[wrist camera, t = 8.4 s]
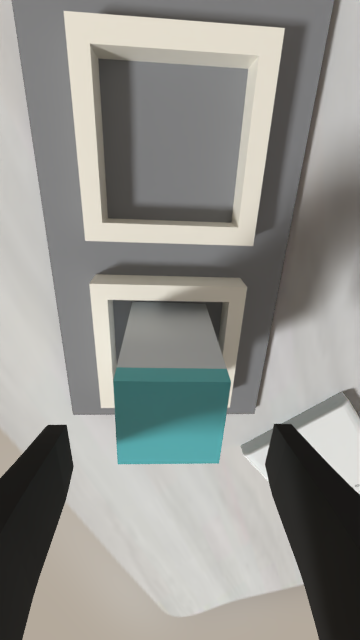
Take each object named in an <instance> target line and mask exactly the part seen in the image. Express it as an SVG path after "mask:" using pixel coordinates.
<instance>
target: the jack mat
mask: <svg viewBox="0 0 360 640" xmlns="http://www.w3.org/2000/svg"><path fill="white" fill-rule="evenodd" d="M333 4H334V0H12V6H13V12H14V19H15V26H16V33H17V39H18V46H19V53H20V60H21V66H22V73H23V80H24V87H25V93H26V100H27V107H28V114H29V120H30V127H31V134H32V141H33V147H34V154H35V161H36V168H37V174H38V181H39V188H40V195H41V201H42V208H43V215H44V222H45V228H46V235H47V242H48V249H49V255H50V262H51V269H52V276H53V282H54V289H55V296H56V303H57V309H58V316H59V323H60V330H61V336H62V343H63V350H64V357H65V363H66V370H67V377H68V384H69V390H70V397H71V404H72V411H73V415H111V414H115V408H101V403H100V392H99V382H98V371H97V361H96V350H95V339H94V329H93V318H92V308H91V297H90V286H89V283H90V282H91V280H92V279H93V278H94V276H95V275H96V274H103V275H144V276H186V277H227V278H241V280H242V281H243V282H244V284H245V285H246V286H247V292H246V299H245V306H244V313H243V320H242V327H241V334H240V341H239V348H238V355H237V361H236V368H235V375H234V382H233V389H232V396H231V403H230V408H227V413H226V414H254V413H255V408H256V403H257V398H258V392H259V387H260V382H261V377H262V372H263V367H264V361H265V356H266V351H267V346H268V341H269V335H270V330H271V325H272V320H273V315H274V310H275V304H276V299H277V294H278V289H279V284H280V278H281V273H282V268H283V263H284V258H285V253H286V247H287V242H288V237H289V232H290V227H291V221H292V216H293V211H294V206H295V201H296V196H297V190H298V185H299V180H300V175H301V170H302V164H303V159H304V154H305V149H306V144H307V139H308V133H309V128H310V123H311V118H312V113H313V107H314V102H315V97H316V92H317V87H318V82H319V76H320V71H321V66H322V61H323V56H324V50H325V45H326V40H327V35H328V30H329V25H330V19H331V14H332V9H333ZM64 11H72V12H85V13H98V14H111V15H124V16H137V17H150V18H162V19H175V20H188V21H201V22H214V23H227V24H240V25H252V26H265V27H278V28H285V30H284V37H283V44H282V51H281V58H280V65H279V72H278V79H277V86H276V93H275V99H274V106H273V113H272V120H271V127H270V134H269V141H268V148H267V155H266V161H265V168H264V175H263V182H262V189H261V196H260V203H259V210H258V217H257V224H256V230H255V237H254V244H253V246H234V245H202V244H169V243H137V242H105V241H85V233H84V223H83V212H82V202H81V191H80V181H79V170H78V159H77V149H76V138H75V128H74V117H73V106H72V96H71V85H70V75H69V64H68V53H67V43H66V32H65V22H64ZM98 63H99V79H100V96H101V112H102V129H103V146H104V162H105V179H106V195H107V212H108V218H113V219H141V220H169V221H197V222H225V223H231V222H232V213H233V204H234V195H235V186H236V177H237V168H238V158H239V149H240V140H241V131H242V122H243V113H244V104H245V95H246V86H247V77H248V69H244V68H229V67H215V66H200V65H186V64H171V63H156V62H142V61H127V60H113V59H98ZM132 302H164V303H201V304H206V307H207V310H208V313H209V316H210V319H211V322H212V325H213V328H214V331H215V334H216V337H217V340H219V331H220V322H221V313H222V304H223V302H197V301H144V300H113V311H114V328H115V345H116V361H117V363H118V359H119V355H120V351H121V347H122V343H123V339H124V334H125V330H126V326H127V322H128V318H129V314H130V310H131V306H132Z"/></svg>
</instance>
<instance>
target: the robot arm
mask: <svg viewBox="0 0 360 640" xmlns="http://www.w3.org/2000/svg"><path fill="white" fill-rule="evenodd" d="M265 467H266V471H267V476H268V480H269V484H270V488H271V492H272V496H273V498H274V501H275V504H276V507H277V510H278V512H279V515H280V518H281V521H282V524H283V526H284V529H285V532H286V535H287V537H288V540H289V543H290V545H291V548H292V551H293V554H294V556H295V559H296V562H297V565H298V567H299V570H300V573H301V576H302V579H303V583H304V586H305V589H306V593H307V596H308V599H309V603H310V606H311V610H312V614H313V618H314V621H315V625H316V629H317V632H318V636H319V640H360V494H359V493H358V492H356V491H355V490H354V489H353V488H352V487H351V486H350V485H349V484H348V483H347V482H346V481H345V480H344V479H343V478H342V477H341V476H340V475H339V474H338V473H337V472H336V471H335V470H334V469H333V468H332V467H331V466H330V465H329V464H328V463H327V462H326V461H325V459H324V458H323V457H322V456H321V455H320V454H319V453H318V452H317V451H316V450H315V449H314V448H313V447H312V446H311V445H310V444H309V442H308V441H307V440H306V439H305V438H304V437H303V436H302V435H301V434H300V433H299V432H298V431H297V430H296V428H295V427H294V426H293V425H292V424H274V427H273V432H272V436H271V440H270V444H269V449H268V453H267V457H266V461H265ZM72 471H73V461H72V455H71V449H70V443H69V437H68V431H67V425H48V426H46V427H45V428H44V430H43V431H42V432H41V433H40V434H39V435H38V437H37V438H36V439H35V440H34V441H33V442H32V444H31V445H30V446H29V447H28V448H27V449H26V450H25V452H24V453H23V454H22V455H21V456H20V457H19V458H18V459H17V461H16V462H15V463H14V464H13V465H12V466H11V467H10V468H9V469H8V471H7V472H6V473H5V474H4V475H3V476H2V477H1V478H0V640H22V638H23V634H24V630H25V626H26V622H27V619H28V614H29V611H30V607H31V603H32V599H33V595H34V593H35V589H36V586H37V583H38V579H39V576H40V573H41V571H42V568H43V565H44V562H45V559H46V556H47V553H48V550H49V547H50V544H51V541H52V539H53V536H54V533H55V530H56V527H57V524H58V521H59V518H60V515H61V512H62V509H63V506H64V503H65V500H66V497H67V493H68V489H69V484H70V480H71V475H72Z"/></svg>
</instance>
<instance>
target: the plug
mask: <svg viewBox="0 0 360 640" xmlns="http://www.w3.org/2000/svg"><path fill="white" fill-rule="evenodd" d="M113 387H114V405H115V422H116V440H117V458H118V464H194V463H219V459H220V453H221V446H222V440H223V433H224V426H225V420H226V413H227V407H228V400H229V394H230V387H231V380H230V377H229V374H228V371H227V368H226V365H225V362H224V359H223V356H222V353H221V350H220V346H219V343H218V340H217V337H216V334H215V331H214V328H213V325H212V322H211V319H210V316H209V313H208V310H207V307H206V304H201V303H164V302H132V306H131V310H130V314H129V318H128V322H127V326H126V330H125V334H124V339H123V343H122V347H121V351H120V355H119V359H118V363H117V367H116V372H115V376H114V380H113Z"/></svg>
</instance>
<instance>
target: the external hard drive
mask: <svg viewBox="0 0 360 640" xmlns="http://www.w3.org/2000/svg"><path fill="white" fill-rule="evenodd" d="M282 424H292V425H293V426H294V427H295V428H296V430H297V431H298V432H299V433H300V434H301V435H302V436H303V437H304V438H305V439H306V440H307V441H308V442H309V444H310V445H311V446H312V447H313V448H314V449H315V450H316V451H317V452H318V453H319V454H320V455H321V456H322V457H323V458H324V459H325V461H326V462H327V463H328V464H329V465H330V466H331V467H332V468H333V469H334V470H335V471H336V472H337V473H338V474H339V475H340V476H341V477H342V478H343V479H344V480H345V481H346V482H347V483H348V484H349V485H350V486H351V487H352V488H353V489H354V490H355V491H356V492H358V493H359V494H360V417H359V416H358V414H357V412H356V411H355V409H354V407H353V406H352V404H351V403H350V401H349V399H348V398H347V397H346V396H345V395H344V393H343V392H340V393H338V394H336V395H334V396H332V397H330V398H329V399H327V400H325V401H323V402H321V403H319V404H317V405H316V406H314V407H312V408H310V409H308V410H306V411H304V412H303V413H301V414H299V415H297V416H295V417H293V418H291V419H290V420H288V421H286V422H284V423H282ZM272 432H273V429H271V430H269V431H267V432H266V433H264V434H262V435H260V436H258V437H256V438H254V439H252V440H251V441H249V442H247V443H245V444H243V445H241V449H242V452H243V455H244V457H245V458H246V459H247V460H248V461H249V462H250V463H251V464H252V465H253V466H254V467H255V468H256V469H257V470H258V471H259V472H260V473H261V474H262V475H263V476H264V477H265V478H266V480H267V481H268V482H269V480H268V476H267V471H266V467H265V461H266V457H267V453H268V449H269V444H270V440H271V436H272Z"/></svg>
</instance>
